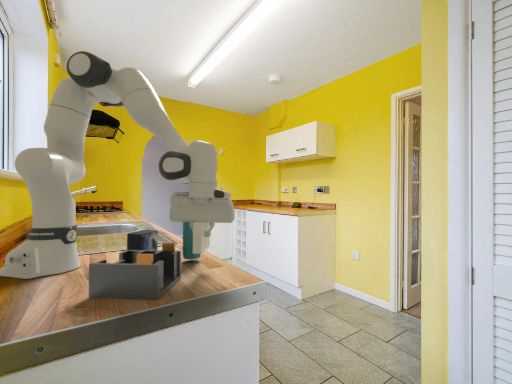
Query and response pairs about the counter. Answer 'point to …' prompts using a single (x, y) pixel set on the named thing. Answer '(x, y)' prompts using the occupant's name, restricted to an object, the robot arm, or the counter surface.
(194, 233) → the panel
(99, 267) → the rack
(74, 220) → the robot arm
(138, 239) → the small box
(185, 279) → the counter surface
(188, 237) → the beverage bottle
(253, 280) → the counter surface
